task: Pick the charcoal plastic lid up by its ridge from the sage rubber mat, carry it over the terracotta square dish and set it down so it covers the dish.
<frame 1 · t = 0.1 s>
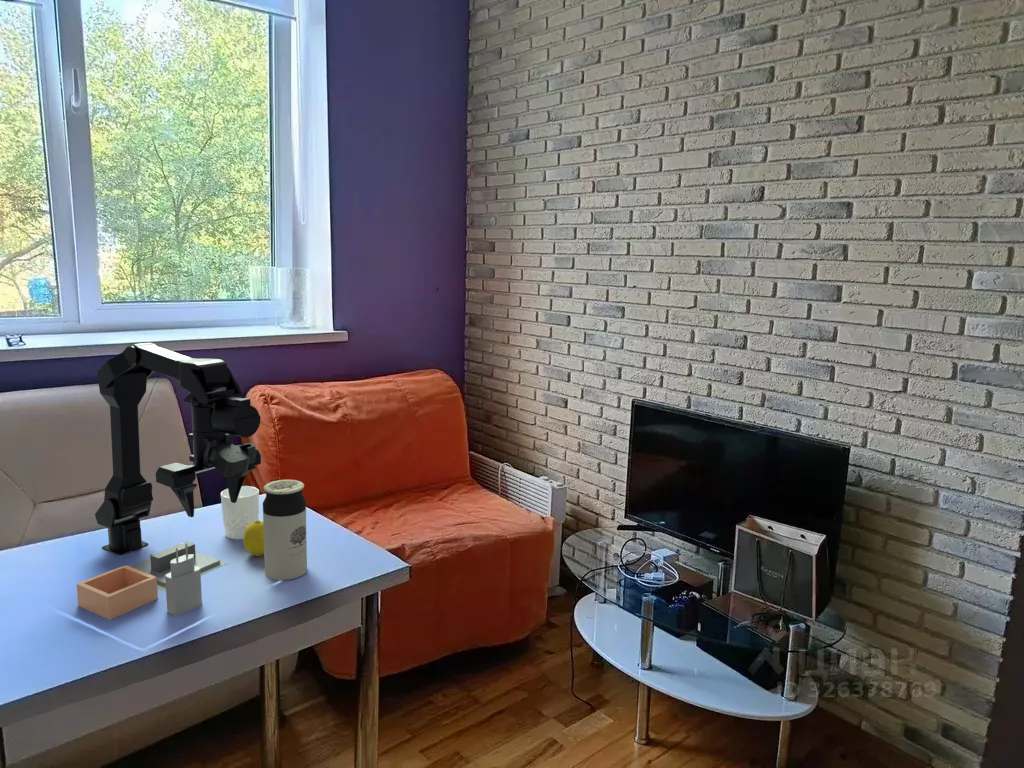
hand: (212, 509, 135), 15 cm above the table, tool pointing down, fingers open, 9 cm apart
travel mug: (286, 573, 143), on the table
dish: (118, 603, 128), on the table
lemon: (258, 557, 149), on the table
mat: (174, 569, 142), on the table
white cup: (241, 535, 160), on the table
power adapter: (185, 610, 127), on the table
lid: (174, 567, 142), resting on mat
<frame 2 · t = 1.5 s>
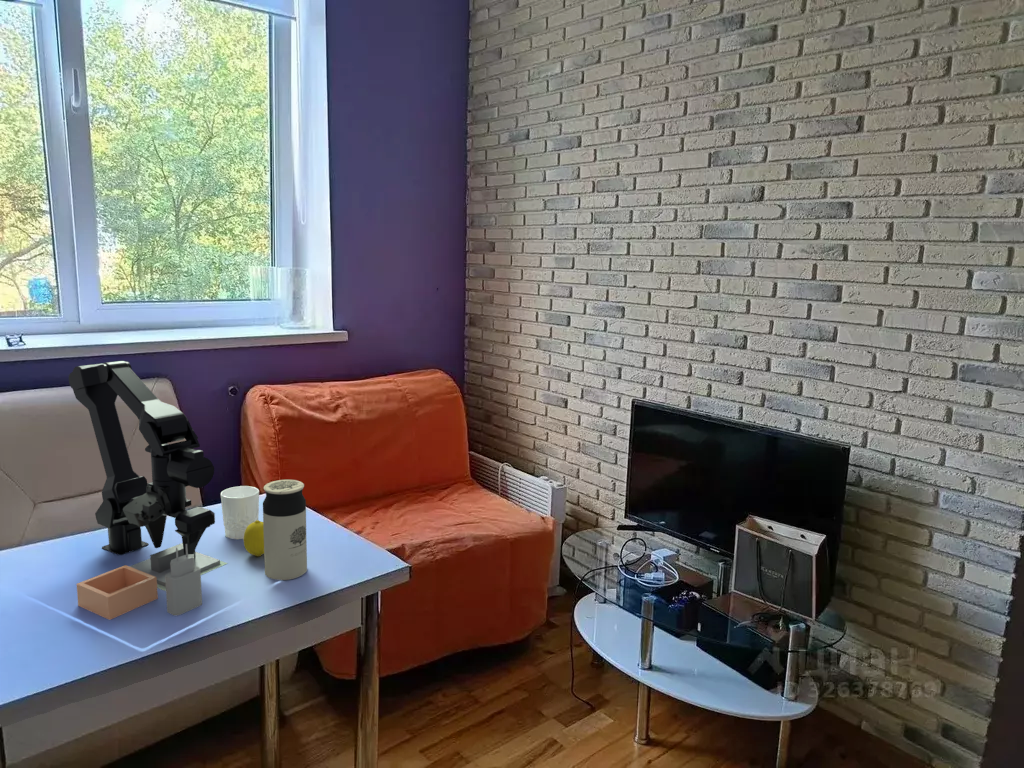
hand: (173, 552, 142), 3 cm above the table, tool pointing down, fingers open, 9 cm apart
nothing on the table moved.
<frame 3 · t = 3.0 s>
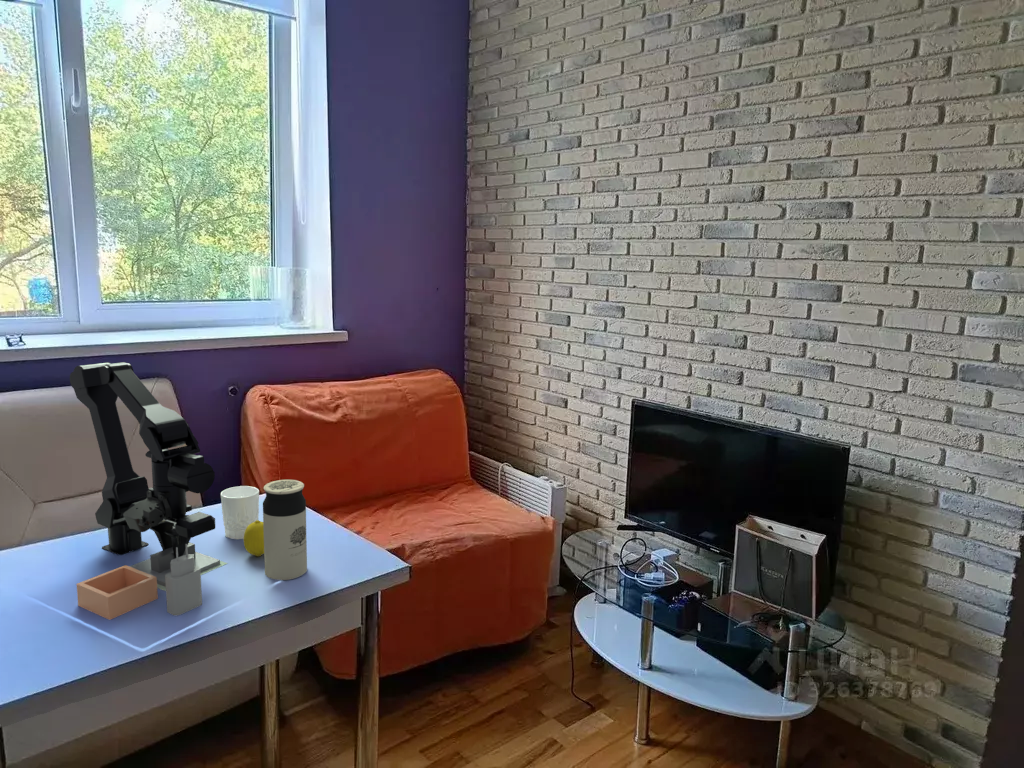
hand: (173, 558, 142), 2 cm above the table, tool pointing down, fingers closed on lid, 2 cm apart
lid: (174, 567, 142), resting on mat, touching gripper
everything else where it was.
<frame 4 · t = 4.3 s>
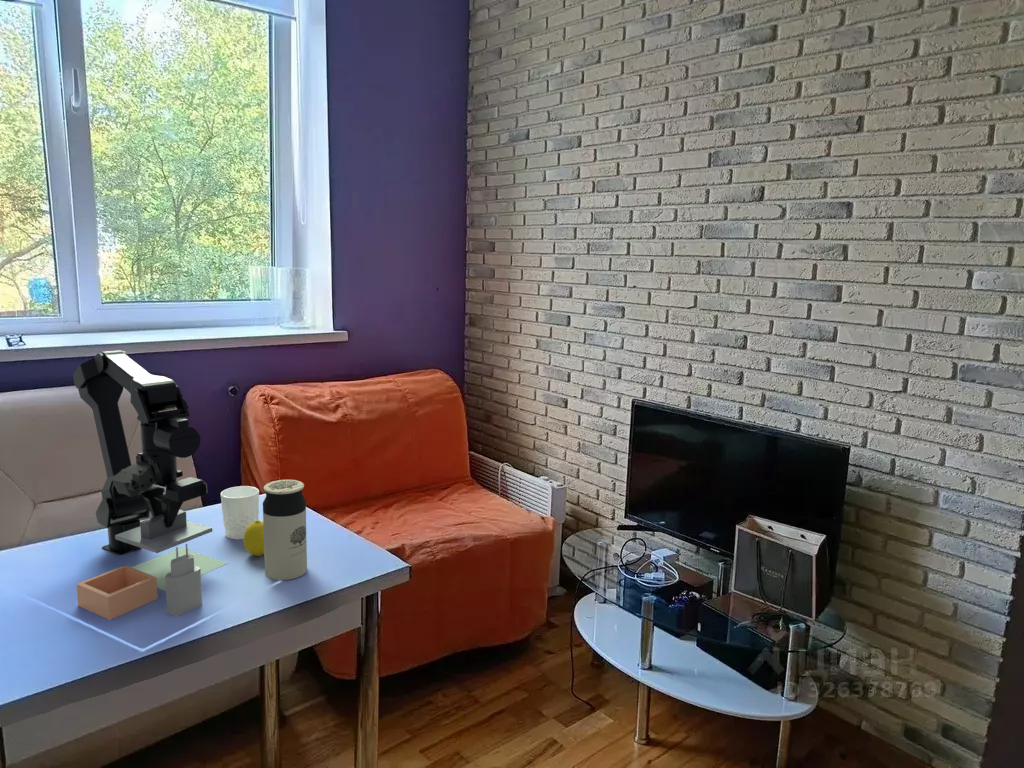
hand: (163, 525, 138), 10 cm above the table, tool pointing down, fingers closed on lid, 2 cm apart
lid: (164, 535, 138), point 8 cm above the table, touching gripper
everything else where it was.
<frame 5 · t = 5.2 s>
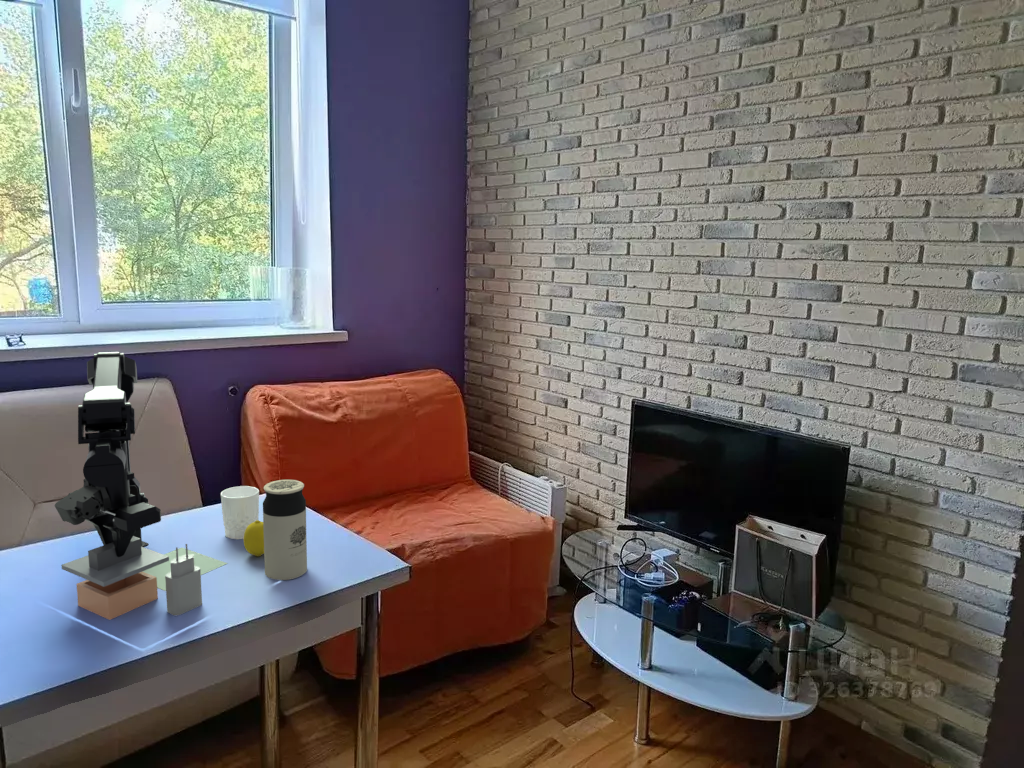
hand: (115, 554, 127), 9 cm above the table, tool pointing down, fingers closed on lid, 2 cm apart
lid: (116, 564, 127), point 7 cm above the table, touching gripper
everything else where it was.
when the fingers open (8 cm above the table, at t = 6.0 s): lid drops 1 cm, resting on dish.
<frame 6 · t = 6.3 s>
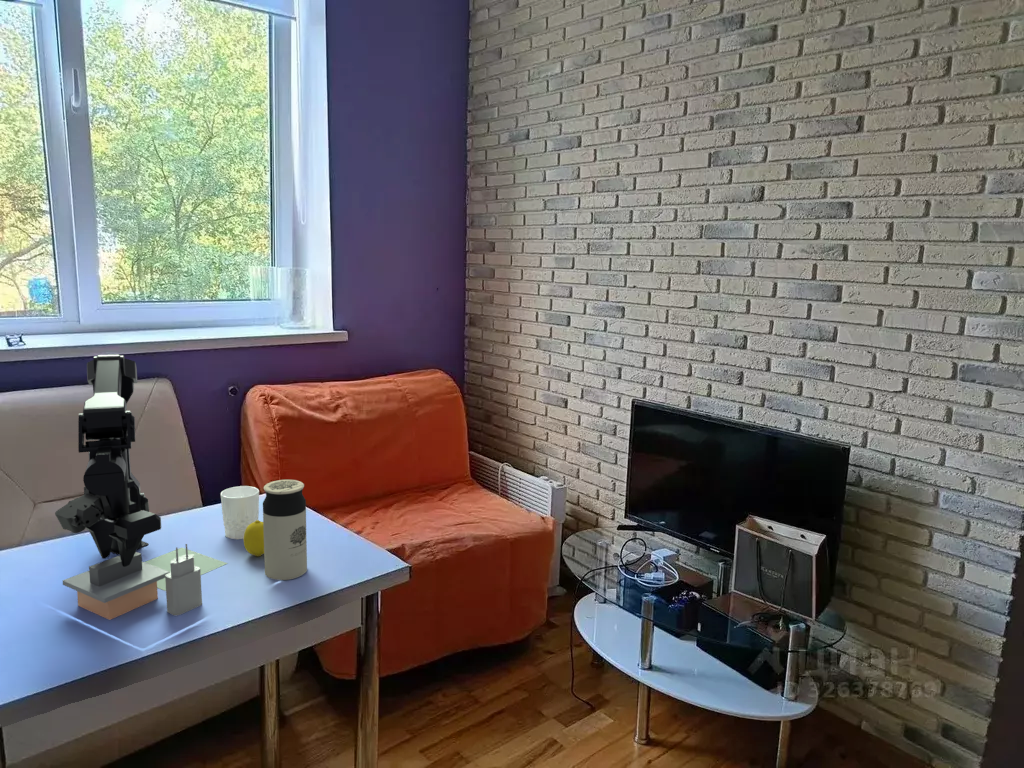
hand: (115, 561, 127), 8 cm above the table, tool pointing down, fingers open, 6 cm apart
lid: (117, 580, 127), point 4 cm above the table, touching dish
everything else where it was.
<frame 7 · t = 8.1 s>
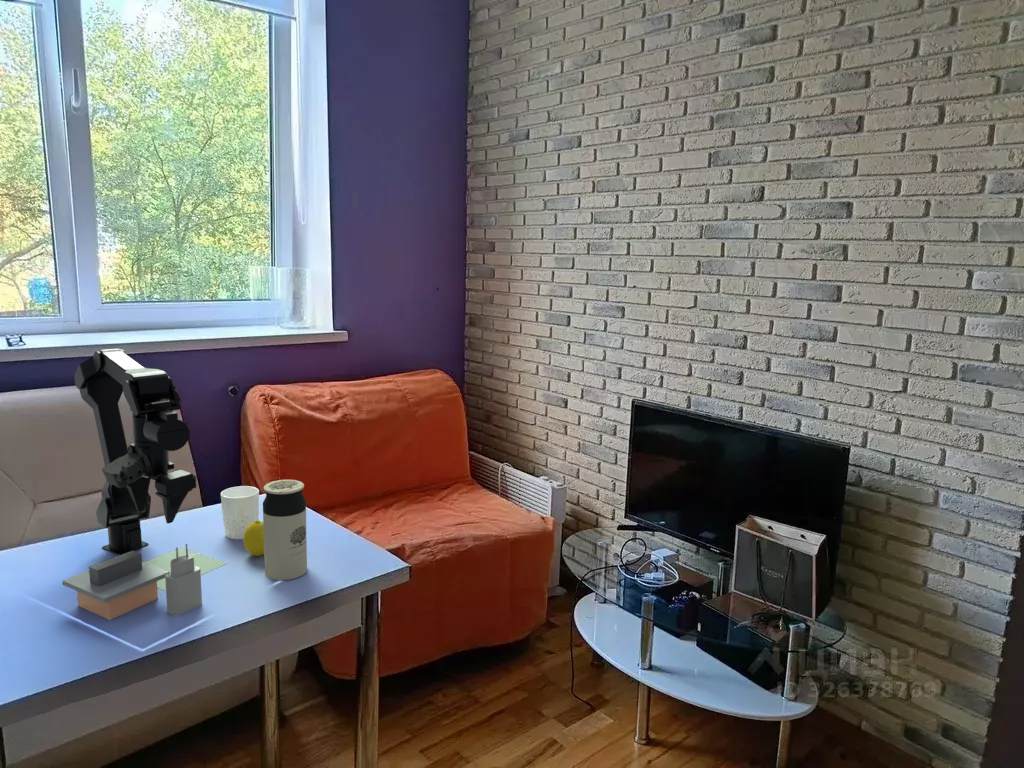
hand: (155, 516, 138), 12 cm above the table, tool pointing down, fingers open, 9 cm apart
nothing on the table moved.
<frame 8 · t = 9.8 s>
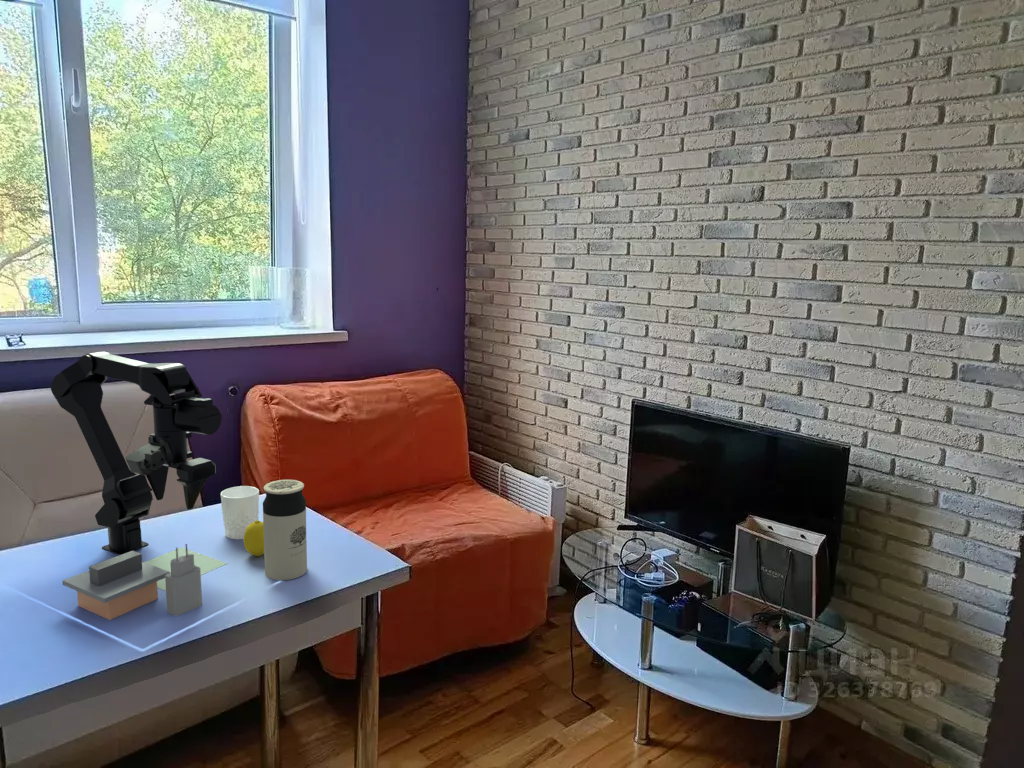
hand: (174, 504, 144), 12 cm above the table, tool pointing down, fingers open, 9 cm apart
nothing on the table moved.
at the end: lid 0.1 cm off-centre on the dish, point 4.5 cm above the dish's base; lid tilted 0°; the gripper is holding nothing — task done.
